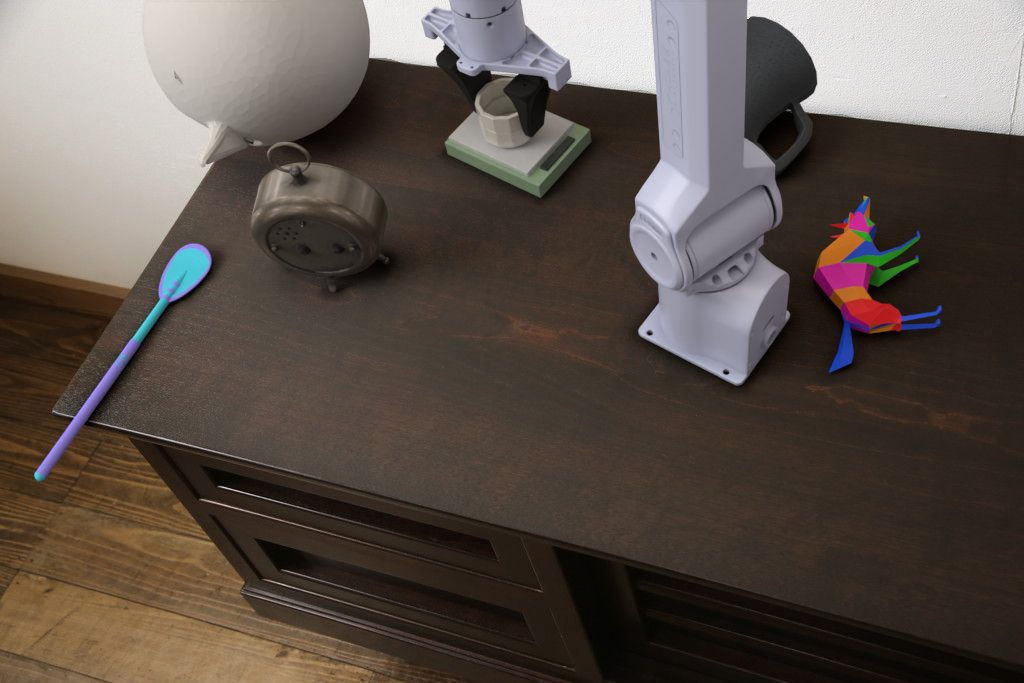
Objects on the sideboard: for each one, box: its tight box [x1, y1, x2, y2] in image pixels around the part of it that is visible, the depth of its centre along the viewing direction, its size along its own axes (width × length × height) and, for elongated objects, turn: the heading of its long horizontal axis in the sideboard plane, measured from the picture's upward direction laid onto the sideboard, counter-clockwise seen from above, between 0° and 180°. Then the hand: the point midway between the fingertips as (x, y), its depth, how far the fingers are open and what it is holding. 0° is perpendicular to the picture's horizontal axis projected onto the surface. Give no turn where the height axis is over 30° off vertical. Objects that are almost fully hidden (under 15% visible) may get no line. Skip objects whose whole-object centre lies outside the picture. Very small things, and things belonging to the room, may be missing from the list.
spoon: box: [33, 242, 213, 482], centre depth 93 cm, size 25×4×1 cm, turn 156°
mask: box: [141, 0, 371, 168], centre depth 100 cm, size 22×18×20 cm
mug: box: [744, 15, 818, 179], centre depth 94 cm, size 12×9×11 cm
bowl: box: [475, 77, 531, 148], centre depth 98 cm, size 5×5×4 cm
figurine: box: [813, 195, 943, 374], centre depth 85 cm, size 4×15×9 cm
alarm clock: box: [249, 141, 390, 293], centre depth 89 cm, size 11×5×16 cm, turn 84°
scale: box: [444, 110, 592, 199], centre depth 100 cm, size 11×8×2 cm
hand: (509, 118), depth 98 cm, fingers closed on bowl, 5 cm apart
